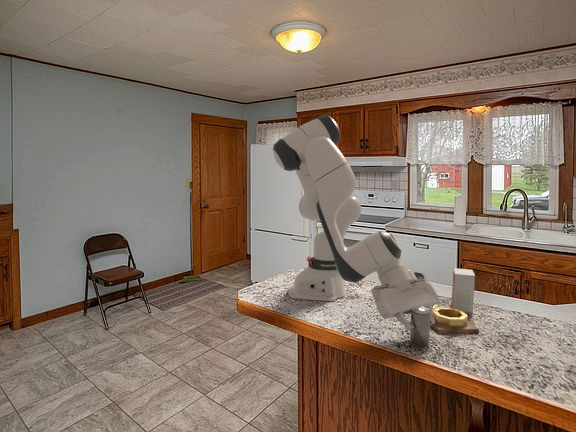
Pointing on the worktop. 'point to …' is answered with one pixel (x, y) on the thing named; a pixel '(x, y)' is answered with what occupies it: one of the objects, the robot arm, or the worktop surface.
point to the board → (456, 328)
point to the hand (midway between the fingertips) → (421, 326)
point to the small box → (463, 290)
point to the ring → (444, 316)
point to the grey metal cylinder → (420, 326)
